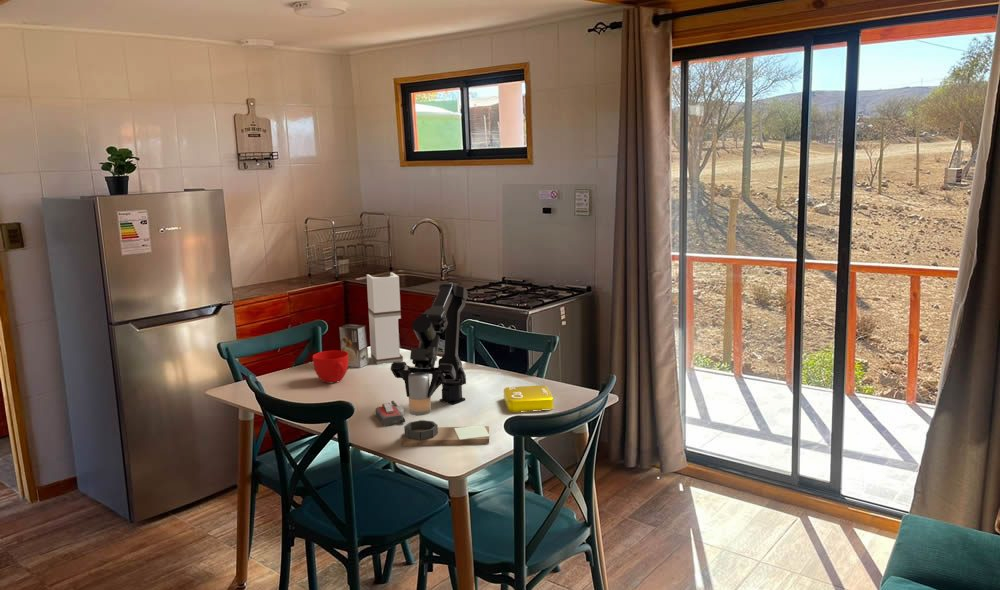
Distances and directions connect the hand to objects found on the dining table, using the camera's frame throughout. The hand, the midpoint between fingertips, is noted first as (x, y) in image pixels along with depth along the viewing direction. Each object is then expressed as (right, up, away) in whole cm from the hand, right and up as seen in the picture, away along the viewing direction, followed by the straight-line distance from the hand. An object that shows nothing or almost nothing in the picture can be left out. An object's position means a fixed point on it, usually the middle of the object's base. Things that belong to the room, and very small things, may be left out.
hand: (418, 396), depth 212 cm
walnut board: (+8, -13, +4) cm, 16 cm away
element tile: (+33, -7, +32) cm, 47 cm away
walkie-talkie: (-12, -10, +24) cm, 29 cm away
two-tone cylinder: (0, -5, +2) cm, 5 cm away
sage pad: (+15, -11, +4) cm, 19 cm away
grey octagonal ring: (+1, -11, +4) cm, 12 cm away
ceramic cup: (-38, -3, +61) cm, 72 cm away
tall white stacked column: (-23, +3, +89) cm, 92 cm away
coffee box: (-34, +1, +83) cm, 89 cm away
